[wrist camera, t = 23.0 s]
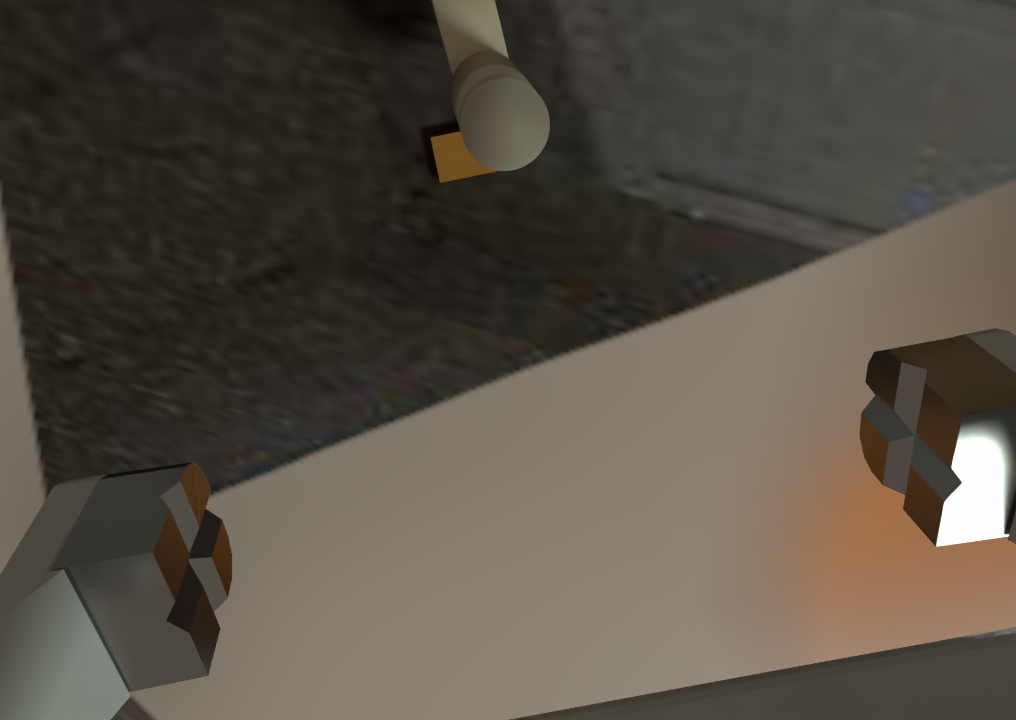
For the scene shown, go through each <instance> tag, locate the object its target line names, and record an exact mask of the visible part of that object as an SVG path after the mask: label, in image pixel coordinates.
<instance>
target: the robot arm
mask: <svg viewBox="0 0 1016 720" xmlns="http://www.w3.org/2000/svg"><path fill="white" fill-rule="evenodd" d="M866 383H867V385H868V386H869V387H870V389H871V390H872V391H873V392H874V394H875V397H874V398H873V399H872V400H871V402H870V403H869V404H868V406H866V408H865V409H864V410H863V411H862V414H861V426H860V440H861V445H862V449H863V454H864V457H865V459H866V461H867V463H868V465H869V467H870V469H871V471H872V473H873V474H874V475H875V476H876V477H877V479H878V480H879V481H880V482H881V484H882V485H884V486H886V487H888V488H890V489H893V490H895V491H897V492H900V493H902V494H904V495H905V500H904V507H903V509H904V511H905V512H906V513H907V514H908V515H909V516H910V518H911V519H912V520H913V521H914V522H915V523H916V525H917V526H918V527H919V528H920V529H921V530H922V531H923V533H924V534H925V535H926V536H927V537H928V538H929V540H930V541H931V542H932V543H933V544H934V545H935V546H936V547H938V546H945V545H951V544H958V543H965V542H972V541H978V540H985V539H991V538H998V537H1005V536H1009V537H1008V540H1010V541H1012V542H1014V543H1015V544H1016V336H1015V335H1014V334H1012V333H1011V332H1009V331H1006V330H1001V329H990V330H984V331H979V332H974V333H970V334H964V335H959V336H955V337H952V338H947V339H941V340H936V341H930V342H925V343H920V344H914V345H909V346H904V347H898V348H893V349H887V350H882V351H876V352H874V354H873V355H872V357H871V360H870V361H869V363H868V368H867V375H866ZM210 492H211V489H210V487H209V485H208V482H207V480H206V478H205V475H204V473H203V471H202V468H200V467H199V466H198V465H196V464H195V463H193V462H191V463H184V464H177V465H170V466H163V467H156V468H149V469H142V470H135V471H128V472H121V473H114V474H109V475H107V476H105V475H99V476H93V477H87V478H82V479H76V480H70V481H65V482H63V483H60V484H58V485H56V486H54V488H53V489H52V491H51V493H50V494H49V496H48V497H47V499H46V501H45V502H44V504H43V506H42V507H41V509H40V511H39V512H38V514H37V516H36V517H35V519H34V520H33V522H32V524H31V525H30V527H29V529H28V530H27V532H26V534H25V535H24V537H23V539H22V540H21V542H20V543H19V545H18V547H17V548H16V550H15V552H14V553H13V555H12V557H11V558H10V560H9V561H8V563H7V565H6V566H5V568H4V570H3V571H2V573H1V575H0V720H111V718H112V717H113V716H114V715H115V714H116V713H117V711H118V710H119V709H120V708H121V707H122V705H123V704H124V703H125V702H126V701H127V699H128V698H129V697H130V693H129V692H131V691H136V690H141V689H146V688H151V687H156V686H160V685H165V684H170V683H175V682H180V681H185V680H190V679H195V678H199V677H204V676H208V675H209V671H210V667H211V663H212V659H213V655H214V651H215V647H216V642H217V639H218V635H219V631H220V626H219V624H218V621H217V619H216V616H215V614H214V611H215V610H216V609H217V608H218V607H219V606H220V605H221V604H222V603H223V602H224V601H225V600H226V599H227V598H228V595H229V590H230V585H231V581H232V553H231V548H230V543H229V538H228V535H227V532H226V529H225V526H224V524H223V521H222V519H220V518H219V517H217V516H216V515H214V514H213V513H211V512H210V511H208V510H207V509H205V508H206V505H207V502H208V499H209V495H210ZM510 720H1016V627H1013V628H1008V629H1002V630H996V631H991V632H985V633H980V634H974V635H969V636H964V637H958V638H953V639H947V640H941V641H936V642H930V643H925V644H920V645H914V646H908V647H903V648H898V649H892V650H886V651H881V652H875V653H870V654H865V655H859V656H853V657H848V658H842V659H837V660H831V661H825V662H820V663H814V664H810V665H803V666H798V667H792V668H787V669H782V670H776V671H771V672H765V673H760V674H754V675H749V676H744V677H738V678H732V679H727V680H722V681H716V682H711V683H705V684H700V685H695V686H689V687H684V688H678V689H673V690H667V691H662V692H657V693H652V694H646V695H640V696H635V697H630V698H624V699H619V700H613V701H608V702H602V703H597V704H591V705H586V706H581V707H575V708H570V709H565V710H559V711H554V712H548V713H543V714H538V715H532V716H526V717H521V718H516V719H510Z"/></svg>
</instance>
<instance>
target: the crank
mask: <svg viewBox="0 0 1016 720" xmlns="http://www.w3.org/2000/svg"><path fill="white" fill-rule="evenodd" d="M431 1H432V4H433V8H434V11H435V15H436V19H437V22H438V26H439V30H440V33H441V37H442V40H443V44H444V48H445V51H446V55H447V58H448V62H449V66H450V69H451V73H452V80H451V85H450V96H451V101H452V104H453V108H454V111H455V114H456V118H457V121H458V124H459V128H460V131H461V134H462V138H463V141H464V144H465V146H466V148H467V150H468V151H469V153H470V154H471V155H472V157H473V158H474V159H475V160H477V161H478V162H479V163H480V164H482V165H484V166H486V167H488V168H490V169H494V170H499V171H510V170H515V169H518V168H521V167H523V166H525V165H527V164H529V163H530V162H532V161H533V160H534V159H535V158H536V157H537V156H538V155H539V154H540V152H541V151H542V149H543V148H544V146H545V144H546V141H547V139H548V135H549V128H550V120H549V114H548V110H547V108H546V105H545V103H544V102H543V100H542V98H541V97H540V96H539V95H538V93H537V92H536V91H535V89H534V88H533V87H532V86H531V84H530V83H529V82H528V81H527V79H526V78H525V77H524V76H523V74H522V73H521V72H520V71H519V69H518V68H517V67H516V66H515V64H514V63H513V62H512V61H511V60H510V59H509V58H508V54H507V50H506V46H505V41H504V37H503V33H502V29H501V25H500V20H499V16H498V12H497V8H496V4H495V0H431Z"/></svg>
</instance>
